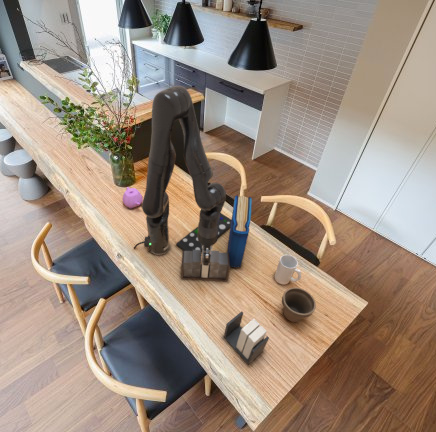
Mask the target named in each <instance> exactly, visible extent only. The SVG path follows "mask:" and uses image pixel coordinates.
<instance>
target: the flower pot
mask: <svg viewBox="0 0 436 432" xmlns="http://www.w3.org/2000/svg"><path fill="white" fill-rule="evenodd" d="M281 304H282V307H283V308H282V310H283V315H284V318H285V319H287V320H288V321H290V322H300V321H301V320H302V319H306V318H308V317H310V316H311V315H312V314H313V313H314V312H315V310H316V308H317V304H316V300H315V298H314V297H313V295H312V294H311V293H310V292H309V291H307V290H305V289H304V288H301V287H290V288H288V289H286V290H285V291H284V292H283V295H282V297H281Z"/></svg>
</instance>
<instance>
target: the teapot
mask: <svg viewBox="0 0 436 432" xmlns="http://www.w3.org/2000/svg"><path fill="white" fill-rule="evenodd" d="M143 199H144V197H143V195H142V194H141V192H140V190H138V189H137V188H135V187H131V188H130V186H127V187H126V190H125V191H124V193H123V195H122V203H123V204H124V206H125V207H127V208H129V209H133V208H136V207H139V206H142V202H143Z"/></svg>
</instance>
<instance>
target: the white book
mask: <svg viewBox="0 0 436 432" xmlns="http://www.w3.org/2000/svg"><path fill="white" fill-rule="evenodd" d="M204 252H205V251H204ZM209 252H210V251H209ZM209 252H208V253H209ZM201 265H202V269H201V277H203V278H208V268H209V265H208V266H204V265H203V255H202V254H201Z"/></svg>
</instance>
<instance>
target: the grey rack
mask: <svg viewBox="0 0 436 432" xmlns="http://www.w3.org/2000/svg"><path fill="white" fill-rule="evenodd" d="M181 251H182V252H181V267H180V268H181V280H190V281H192V280H193V281H209V282H212V281H213V282H228V279H229V275H230V269H231V266H230V262H229V253H227V252H220V250H211V256H210V263H209V268H208V278H203V277H201V269H202V252H201V250H193V251H183V250H181Z"/></svg>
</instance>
